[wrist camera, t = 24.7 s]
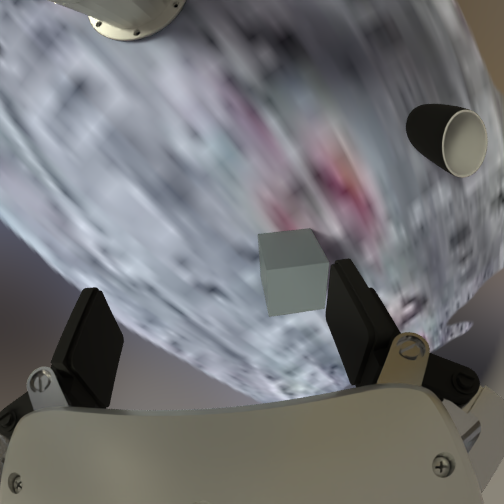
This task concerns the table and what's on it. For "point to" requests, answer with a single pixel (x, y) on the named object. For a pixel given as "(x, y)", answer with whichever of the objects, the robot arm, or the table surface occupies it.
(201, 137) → the table surface
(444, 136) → the mug
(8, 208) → the table surface
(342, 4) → the table surface
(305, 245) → the grey rounded box
